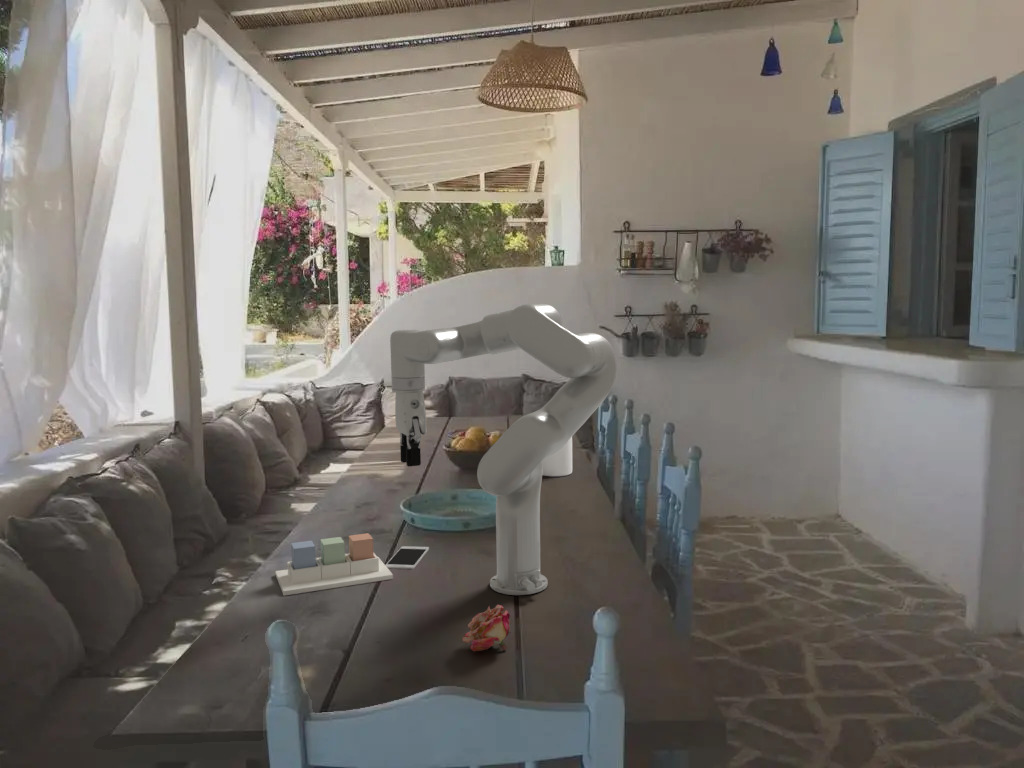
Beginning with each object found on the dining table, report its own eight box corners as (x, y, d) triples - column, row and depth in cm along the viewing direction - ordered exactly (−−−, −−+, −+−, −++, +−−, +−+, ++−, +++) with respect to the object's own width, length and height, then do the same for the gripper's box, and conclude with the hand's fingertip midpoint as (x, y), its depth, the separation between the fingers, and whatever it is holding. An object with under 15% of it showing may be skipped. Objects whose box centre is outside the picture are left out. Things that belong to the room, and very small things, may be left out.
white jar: (531, 471, 291) (530, 416, 289) (562, 468, 297) (561, 413, 294) (547, 478, 280) (546, 421, 278) (578, 474, 285) (578, 418, 283)
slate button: (316, 567, 181) (315, 546, 180) (295, 570, 179) (293, 548, 179) (312, 561, 185) (311, 540, 185) (292, 564, 183) (291, 543, 183)
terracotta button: (373, 559, 186) (372, 538, 185) (353, 562, 184) (352, 541, 184) (369, 553, 190) (368, 533, 190) (349, 556, 188) (348, 535, 188)
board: (393, 578, 183) (392, 561, 183) (283, 595, 174) (282, 577, 174) (378, 560, 196) (377, 544, 196) (275, 575, 187) (274, 558, 186)
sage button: (345, 563, 183) (344, 542, 183) (324, 566, 182) (323, 545, 181) (341, 557, 188) (340, 536, 187) (321, 560, 186) (320, 539, 185)
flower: (523, 629, 150) (498, 594, 151) (526, 640, 141) (499, 603, 142) (481, 661, 150) (456, 626, 150) (481, 674, 140) (454, 636, 141)
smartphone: (429, 550, 205) (429, 546, 205) (413, 570, 190) (413, 566, 190) (402, 549, 206) (401, 545, 206) (383, 569, 191) (383, 566, 191)
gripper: (435, 387, 178) (437, 469, 180) (414, 380, 194) (416, 455, 196) (402, 389, 175) (404, 472, 177) (383, 382, 191) (385, 458, 193)
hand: (410, 462), depth 186 cm, fingers open, 4 cm apart
